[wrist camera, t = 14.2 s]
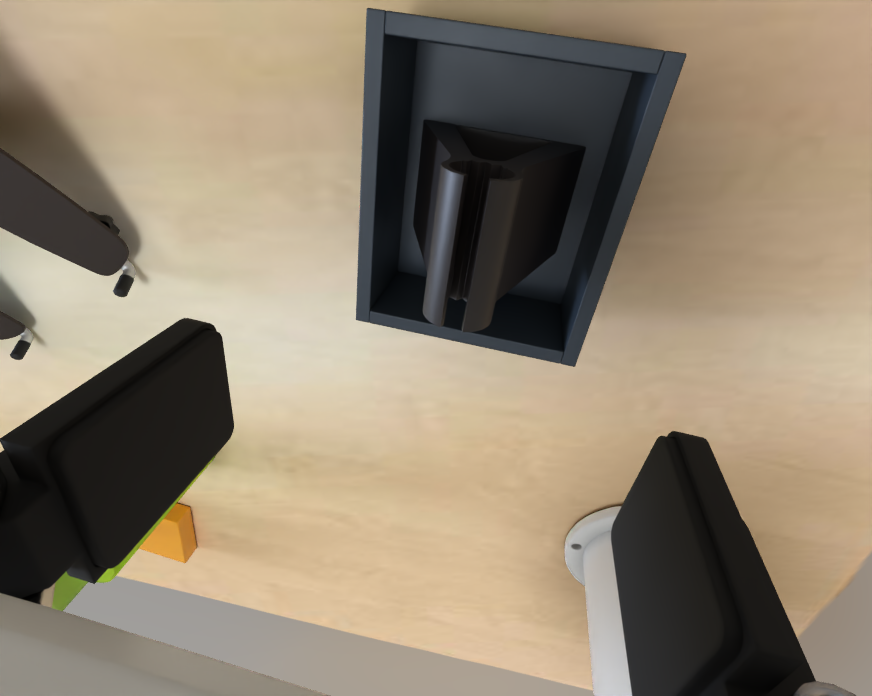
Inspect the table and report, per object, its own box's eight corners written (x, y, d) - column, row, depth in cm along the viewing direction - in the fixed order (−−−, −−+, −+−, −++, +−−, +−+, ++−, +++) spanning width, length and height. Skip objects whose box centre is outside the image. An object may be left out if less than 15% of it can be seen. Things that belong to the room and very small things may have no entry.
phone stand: (413, 222, 29) (344, 306, 19) (425, 118, 26) (349, 153, 16) (555, 251, 28) (562, 354, 18) (586, 146, 25) (614, 202, 15)
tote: (652, 56, 23) (687, 53, 17) (569, 312, 31) (574, 367, 25) (407, 20, 24) (366, 7, 18) (388, 276, 32) (355, 320, 26)
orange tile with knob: (190, 506, 52) (164, 539, 48) (197, 547, 56) (174, 579, 53) (125, 486, 52) (95, 517, 49) (137, 528, 57) (110, 559, 53)
